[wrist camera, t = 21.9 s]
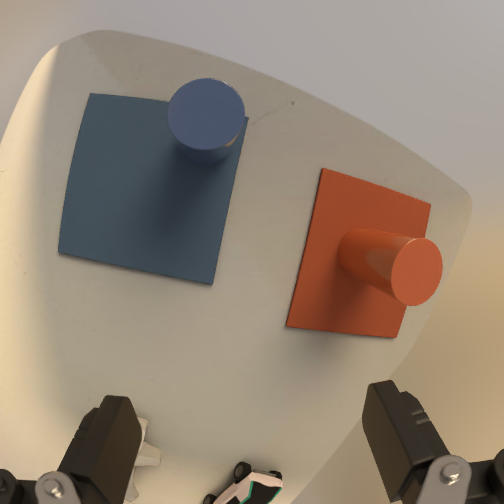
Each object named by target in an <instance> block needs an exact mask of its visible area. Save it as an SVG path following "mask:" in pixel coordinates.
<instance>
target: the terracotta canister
mask: <svg viewBox="0 0 504 504" xmlns="http://www.w3.org/2000/svg"><path fill="white" fill-rule="evenodd" d="M338 258H339V262H340V265H341V267H342V268H343V270H344V271H345V272H346V273H348V274H349V275H351V276H353V277H355V278H357V279H358V280H360V281H362V282H364V283H366V284H368V285H370V286H371V287H373V288H375V289H377V290H379V291H381V292H382V293H384V294H386V295H388V296H390V297H392V298H393V299H395V300H397V301H399V302H401V303H402V304H405V305H408V306H416V305H419V304H422V303H423V302H425V301H426V300H428V299H429V298H430V297H431V296H432V295H433V293H434V292H435V290H436V289H437V287H438V285H439V282H440V279H441V276H442V267H443V265H442V257H441V254H440V251H439V249H438V248H437V246H436V245H435V244H434V243H433V242H432V241H430V240H428V239H425V238H420V237H415V236H410V235H405V234H400V233H395V232H390V231H385V230H380V229H374V228H369V227H362V226H361V227H356V228H353V229H351V230H350V231H348V232H347V233H346V234H345V235H344V237H343V238H342V240H341V242H340V245H339V249H338Z"/></svg>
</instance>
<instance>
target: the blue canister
mask: <svg viewBox="0 0 504 504" xmlns="http://www.w3.org/2000/svg"><path fill="white" fill-rule="evenodd" d="M244 118H245V108H244V104H243V101H242V98H241V97H240V95H239V94H238V92H237V91H236V90H235V89H234V88H233V87H232V86H230V85H229V84H227V83H225V82H223V81H220V80H217V79H211V78H203V79H197V80H194V81H191V82H189V83H187V84H185V85H184V86H182V87H181V88H180V89H178V90H177V92H176V93H175V94H174V95H173V97H172V98H171V100H170V102H169V105H168V109H167V123H168V126H169V129H170V131H171V133H172V135H173V136H174V138H175V140H176V142H177V144H178V146H179V148H180V149H181V151H182V153H183V155H184V156H185V157H186V158H187V159H188V160H189V161H190V162H192V163H194V164H196V165H200V166H212V165H215V164H218V163H220V162H221V161H223V160H224V159H225V158H226V157H227V156H228V155H229V154H230V152H231V150H232V148H233V146H234V143H235V141H236V139H237V137H238V134H239V132H240V130H241V128H242V126H243V122H244Z"/></svg>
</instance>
